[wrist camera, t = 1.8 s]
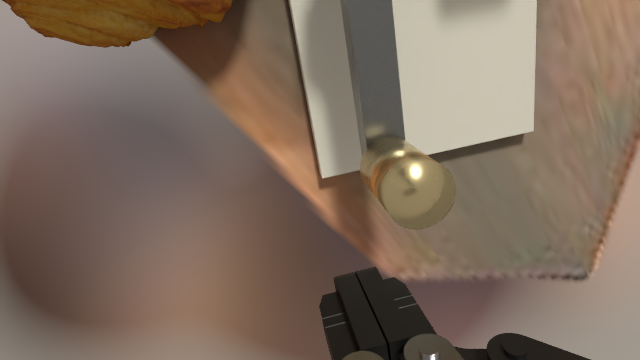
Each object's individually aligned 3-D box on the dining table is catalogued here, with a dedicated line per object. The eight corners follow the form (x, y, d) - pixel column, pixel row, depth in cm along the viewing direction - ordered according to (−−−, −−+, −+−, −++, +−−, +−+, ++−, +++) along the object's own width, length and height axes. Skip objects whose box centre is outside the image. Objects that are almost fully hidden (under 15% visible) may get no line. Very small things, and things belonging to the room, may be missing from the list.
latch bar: (308, -112, 21) (336, -173, 14) (384, -124, 21) (442, -187, 15) (354, 190, 27) (387, 237, 21) (412, 176, 27) (461, 219, 21)
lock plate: (264, -132, 24) (271, -193, 17) (559, -175, 26) (665, -243, 19) (320, 174, 31) (340, 211, 25) (548, 123, 33) (622, 145, 26)
